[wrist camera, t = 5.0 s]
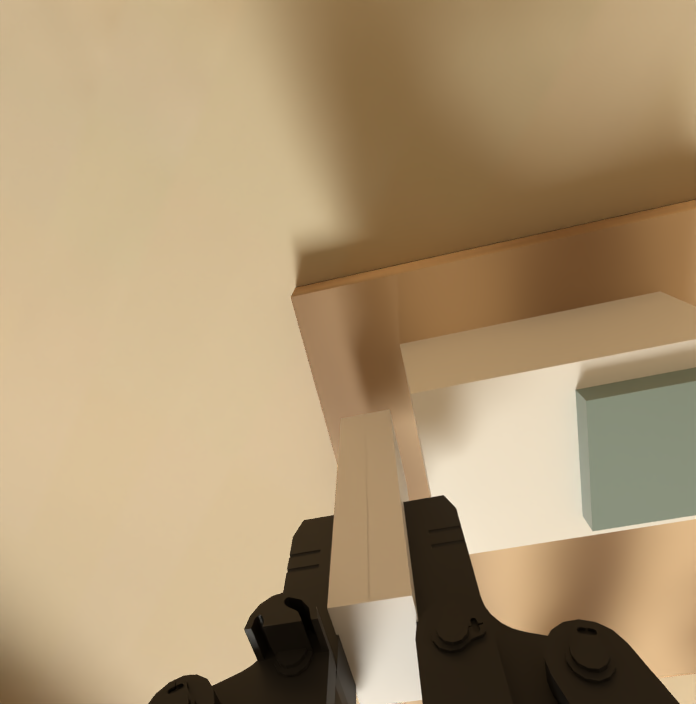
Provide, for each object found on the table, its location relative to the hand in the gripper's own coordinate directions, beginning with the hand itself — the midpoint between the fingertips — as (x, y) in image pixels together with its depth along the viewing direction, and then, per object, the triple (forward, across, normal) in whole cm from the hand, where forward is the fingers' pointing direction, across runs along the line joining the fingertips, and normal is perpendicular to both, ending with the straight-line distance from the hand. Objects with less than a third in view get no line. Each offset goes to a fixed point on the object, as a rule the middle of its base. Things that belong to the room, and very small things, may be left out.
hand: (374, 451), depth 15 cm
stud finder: (+2, +5, 0) cm, 6 cm away
